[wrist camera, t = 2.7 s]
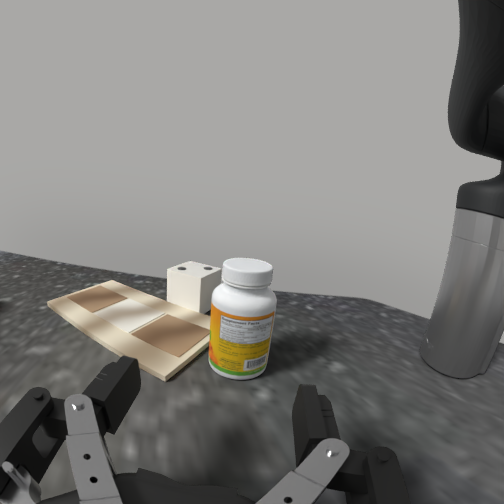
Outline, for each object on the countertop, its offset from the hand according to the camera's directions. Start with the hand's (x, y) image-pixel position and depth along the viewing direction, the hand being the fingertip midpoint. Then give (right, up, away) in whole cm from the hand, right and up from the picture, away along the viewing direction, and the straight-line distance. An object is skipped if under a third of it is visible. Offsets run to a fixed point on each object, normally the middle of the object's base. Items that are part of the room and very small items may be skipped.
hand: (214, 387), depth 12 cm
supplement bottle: (0, -4, +12) cm, 13 cm away
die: (-6, 0, +24) cm, 24 cm away
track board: (-12, -1, +17) cm, 21 cm away
